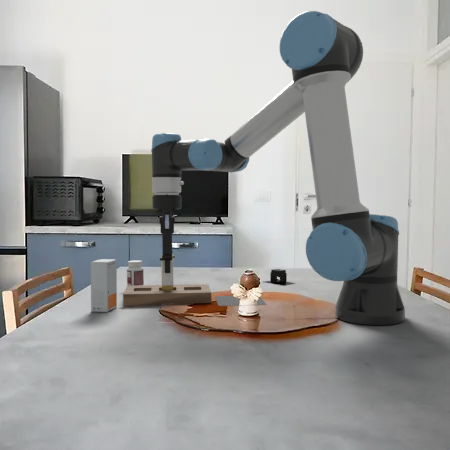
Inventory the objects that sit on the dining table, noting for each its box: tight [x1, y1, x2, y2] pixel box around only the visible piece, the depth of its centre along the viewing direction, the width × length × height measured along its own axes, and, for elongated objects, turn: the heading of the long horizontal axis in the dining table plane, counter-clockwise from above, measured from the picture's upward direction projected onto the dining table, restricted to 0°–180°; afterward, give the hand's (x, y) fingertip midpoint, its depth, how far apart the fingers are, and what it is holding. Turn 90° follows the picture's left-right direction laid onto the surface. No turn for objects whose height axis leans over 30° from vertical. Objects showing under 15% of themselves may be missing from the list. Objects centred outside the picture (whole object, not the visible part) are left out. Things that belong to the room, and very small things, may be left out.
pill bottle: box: [126, 259, 145, 287], centre depth 154 cm, size 5×5×8 cm
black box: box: [262, 268, 296, 287], centre depth 166 cm, size 12×7×5 cm, turn 44°
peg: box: [160, 253, 174, 291], centre depth 138 cm, size 3×3×12 cm
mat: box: [214, 295, 267, 307], centre depth 137 cm, size 12×12×1 cm
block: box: [122, 283, 212, 307], centre depth 139 cm, size 12×22×3 cm, turn 96°
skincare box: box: [90, 258, 118, 313], centre depth 128 cm, size 6×4×12 cm
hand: (167, 283), depth 139 cm, fingers closed on peg, 3 cm apart
